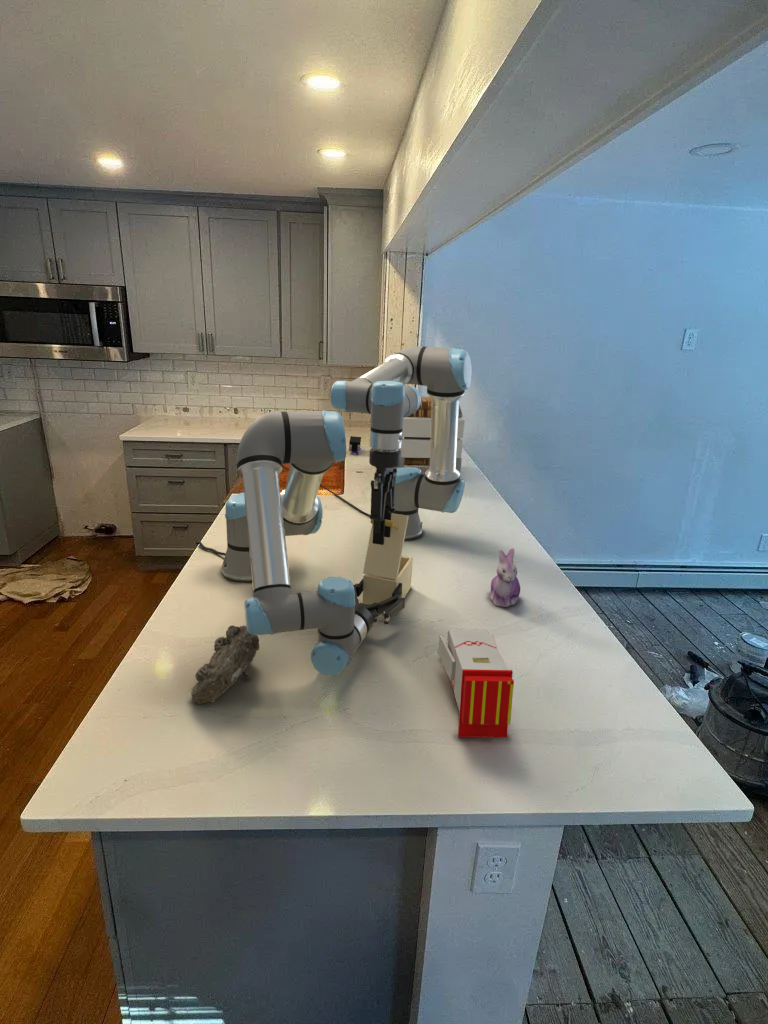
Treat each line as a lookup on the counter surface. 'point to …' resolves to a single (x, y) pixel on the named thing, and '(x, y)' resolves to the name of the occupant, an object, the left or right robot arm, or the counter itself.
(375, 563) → the lid
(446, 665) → the white and red box
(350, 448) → the figurine character
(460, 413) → the transformer
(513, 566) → the figurine
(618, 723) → the counter surface
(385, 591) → the chest
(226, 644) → the fossil
